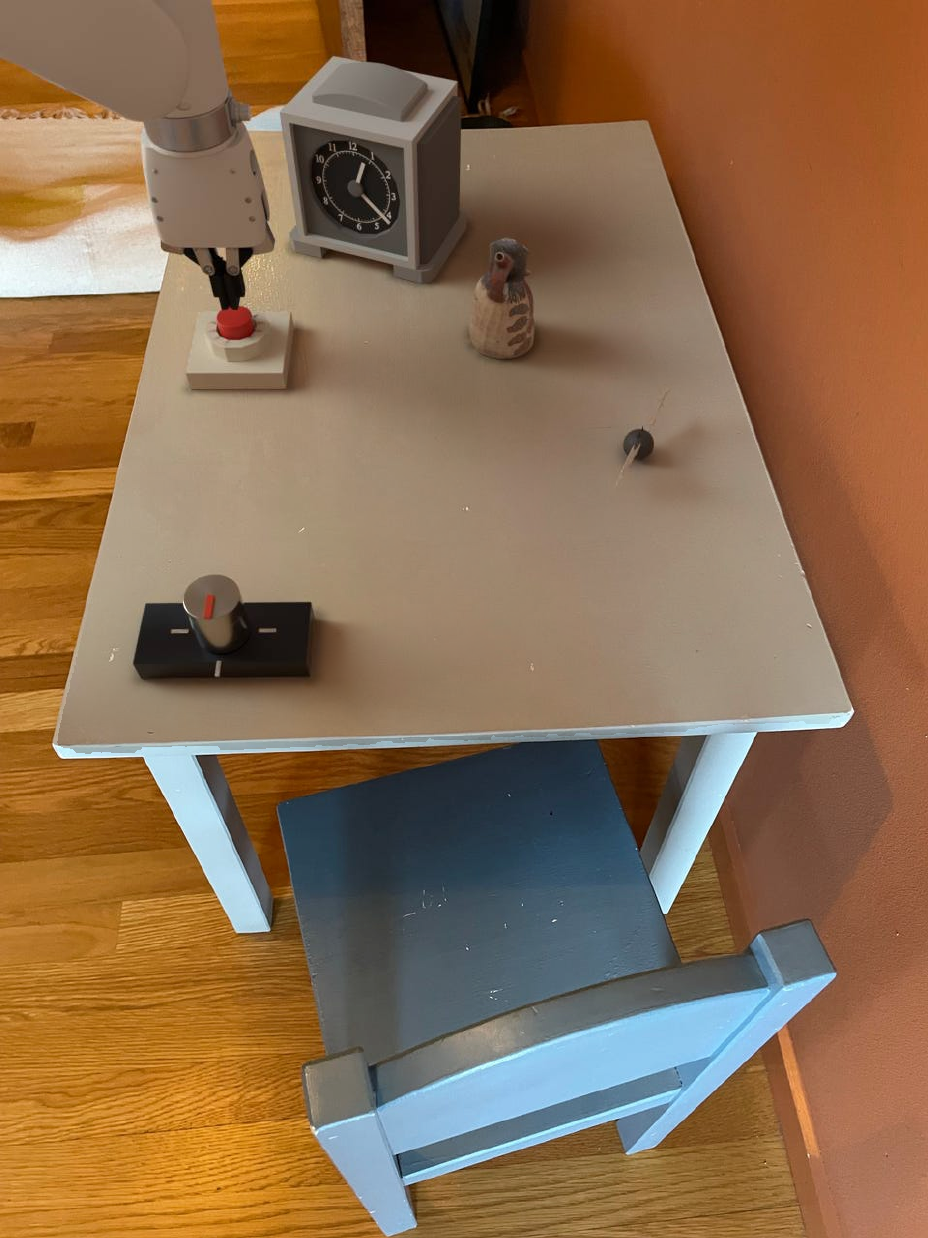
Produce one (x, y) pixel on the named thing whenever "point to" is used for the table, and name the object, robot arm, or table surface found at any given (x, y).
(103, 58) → the robot arm
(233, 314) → the power button
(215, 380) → the switch box
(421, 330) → the table surface
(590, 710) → the table surface
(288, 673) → the panel
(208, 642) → the knob
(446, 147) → the alarm clock
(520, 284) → the figurine
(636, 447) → the bat toy
